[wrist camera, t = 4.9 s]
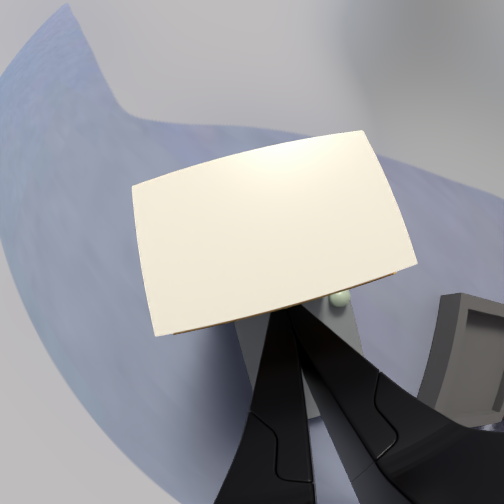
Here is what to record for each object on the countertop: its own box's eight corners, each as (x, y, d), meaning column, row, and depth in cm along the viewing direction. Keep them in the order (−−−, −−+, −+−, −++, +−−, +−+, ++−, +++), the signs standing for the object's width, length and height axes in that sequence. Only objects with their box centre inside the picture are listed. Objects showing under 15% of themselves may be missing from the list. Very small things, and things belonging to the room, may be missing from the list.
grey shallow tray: (484, 415, 12) (501, 421, 9) (408, 420, 12) (425, 431, 10) (509, 312, 13) (528, 310, 11) (441, 295, 14) (461, 292, 12)
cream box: (325, 293, 13) (420, 265, 4) (226, 320, 13) (153, 340, 4) (308, 235, 14) (363, 128, 5) (211, 261, 14) (129, 184, 5)
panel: (365, 392, 13) (375, 400, 12) (264, 422, 13) (264, 434, 12) (322, 226, 15) (328, 217, 14) (219, 253, 15) (213, 247, 14)
